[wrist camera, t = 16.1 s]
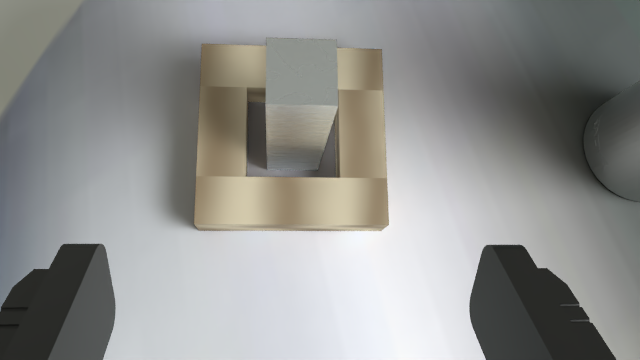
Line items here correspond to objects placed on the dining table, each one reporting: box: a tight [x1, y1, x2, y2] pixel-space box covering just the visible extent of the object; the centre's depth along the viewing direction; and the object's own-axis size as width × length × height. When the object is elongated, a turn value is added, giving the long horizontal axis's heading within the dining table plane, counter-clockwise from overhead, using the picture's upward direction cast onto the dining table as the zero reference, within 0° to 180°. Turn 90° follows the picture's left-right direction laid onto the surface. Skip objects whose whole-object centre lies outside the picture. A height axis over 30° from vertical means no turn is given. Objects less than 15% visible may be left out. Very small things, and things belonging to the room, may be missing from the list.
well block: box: [194, 44, 389, 231], centre depth 43 cm, size 14×14×3 cm
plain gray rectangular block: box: [266, 38, 338, 170], centre depth 38 cm, size 4×4×14 cm
